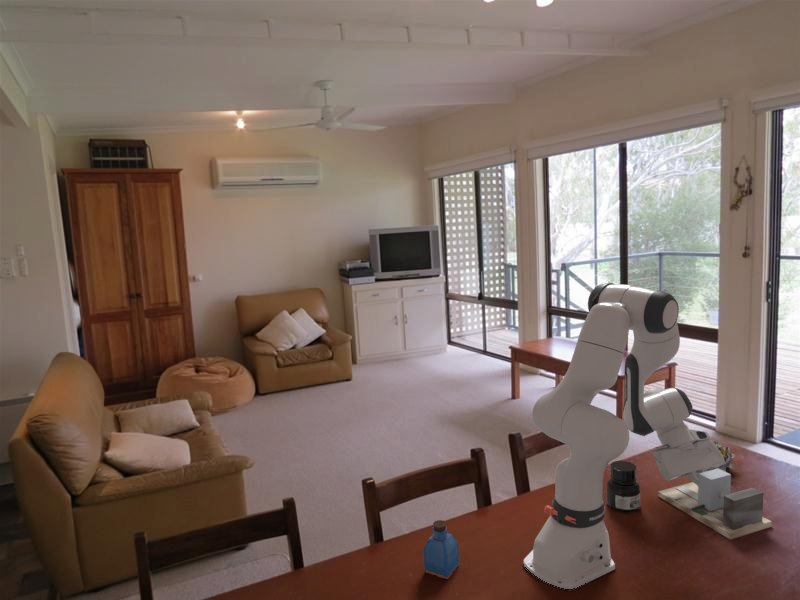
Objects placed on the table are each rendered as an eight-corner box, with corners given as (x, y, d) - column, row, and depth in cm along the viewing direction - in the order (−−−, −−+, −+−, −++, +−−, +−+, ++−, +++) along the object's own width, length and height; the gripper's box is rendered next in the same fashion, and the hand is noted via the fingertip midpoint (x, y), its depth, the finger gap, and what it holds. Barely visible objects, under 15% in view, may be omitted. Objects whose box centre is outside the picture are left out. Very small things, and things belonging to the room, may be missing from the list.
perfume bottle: (447, 580, 131) (445, 533, 129) (424, 572, 134) (422, 527, 132) (459, 565, 136) (457, 520, 134) (436, 558, 139) (434, 514, 138)
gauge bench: (658, 496, 163) (658, 465, 161) (695, 486, 167) (695, 456, 165) (730, 539, 140) (731, 504, 139) (771, 526, 144) (772, 492, 143)
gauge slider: (686, 507, 152) (687, 476, 151) (717, 498, 155) (718, 468, 154) (703, 517, 147) (704, 485, 145) (734, 507, 150) (735, 476, 149)
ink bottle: (620, 516, 153) (620, 476, 151) (598, 502, 161) (598, 463, 159) (648, 508, 156) (648, 468, 154) (626, 494, 164) (626, 456, 163)
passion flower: (721, 489, 174) (713, 468, 168) (690, 470, 183) (682, 449, 177) (744, 465, 176) (737, 443, 170) (713, 447, 185) (705, 425, 179)
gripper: (655, 444, 156) (683, 492, 149) (711, 431, 163) (740, 476, 155) (644, 452, 161) (669, 499, 153) (698, 440, 168) (725, 484, 160)
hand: (705, 488), depth 154 cm, fingers closed, pressing on gauge slider
